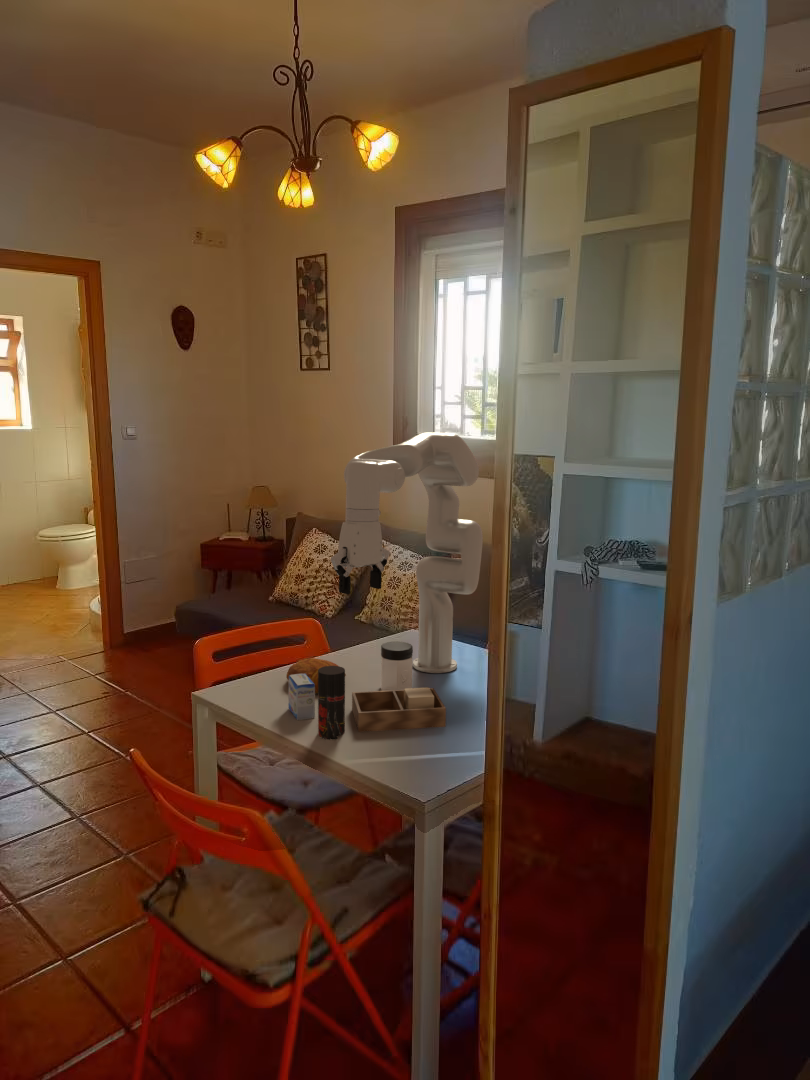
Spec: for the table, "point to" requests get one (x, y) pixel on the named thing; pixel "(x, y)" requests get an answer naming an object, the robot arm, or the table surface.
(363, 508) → the robot arm
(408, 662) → the jar
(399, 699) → the box
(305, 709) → the medicine box
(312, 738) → the table surface
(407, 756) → the table surface
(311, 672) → the croissant
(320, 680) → the deodorant
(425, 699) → the beech block
